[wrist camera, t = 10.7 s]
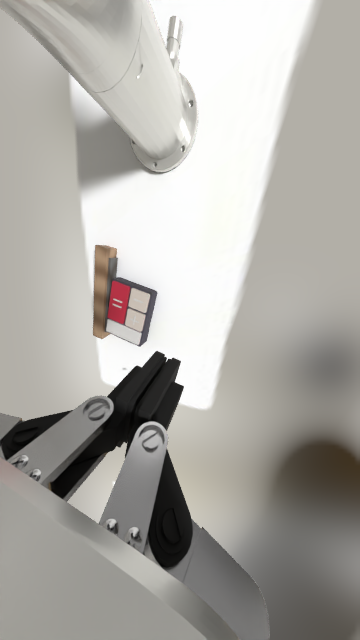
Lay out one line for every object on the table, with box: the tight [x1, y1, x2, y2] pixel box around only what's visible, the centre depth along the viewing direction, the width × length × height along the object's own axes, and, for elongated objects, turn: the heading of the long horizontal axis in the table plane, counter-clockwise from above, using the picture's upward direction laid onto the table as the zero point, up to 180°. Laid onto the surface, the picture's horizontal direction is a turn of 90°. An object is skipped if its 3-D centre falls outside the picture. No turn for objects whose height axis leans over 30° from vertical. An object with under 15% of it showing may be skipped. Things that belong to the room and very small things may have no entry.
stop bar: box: [93, 245, 118, 339], centre depth 45 cm, size 24×4×4 cm, turn 166°
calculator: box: [106, 278, 157, 346], centre depth 44 cm, size 11×4×15 cm
